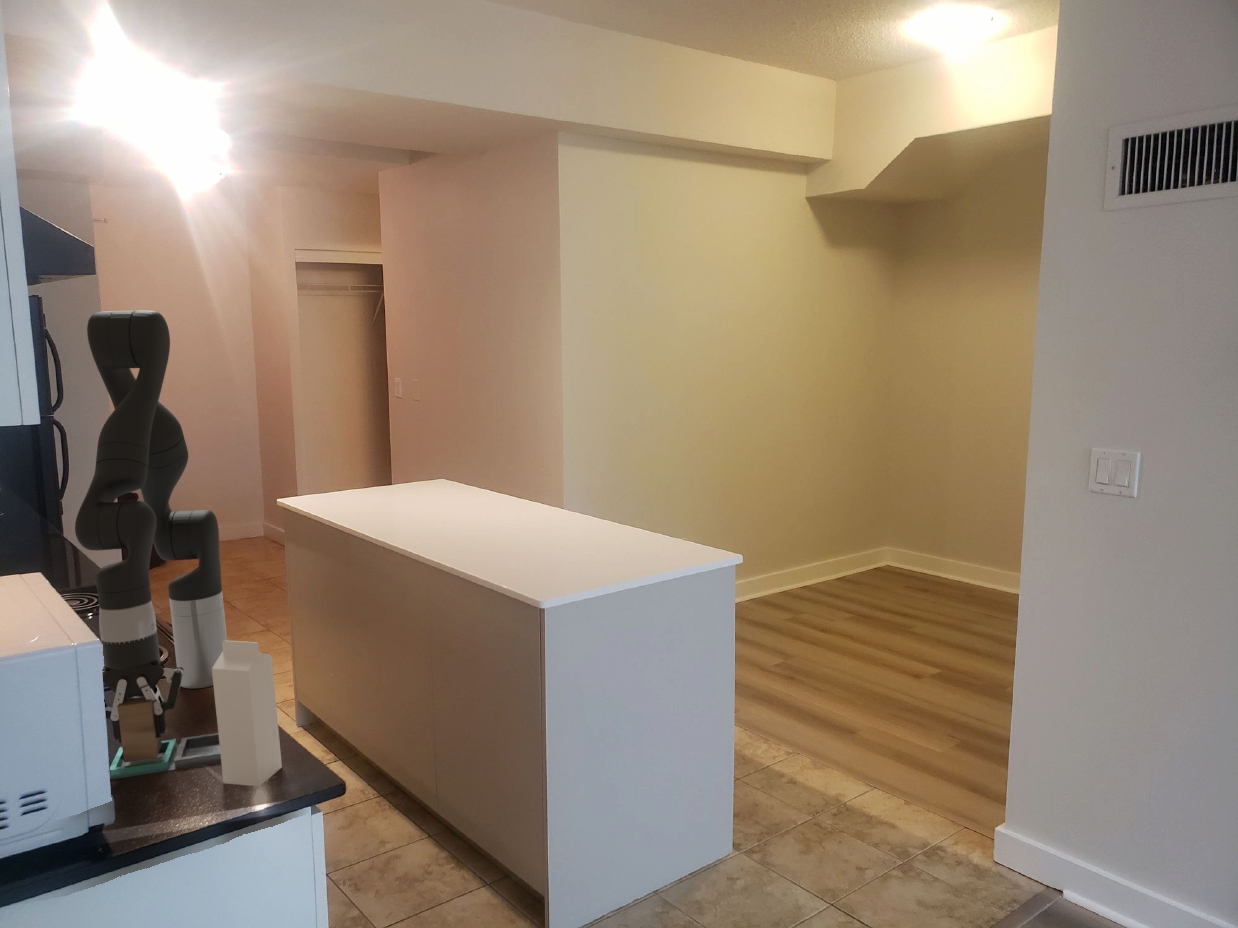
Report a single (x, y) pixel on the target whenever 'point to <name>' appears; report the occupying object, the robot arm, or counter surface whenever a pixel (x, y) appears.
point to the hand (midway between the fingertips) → (141, 737)
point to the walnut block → (138, 729)
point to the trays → (171, 757)
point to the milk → (246, 714)
